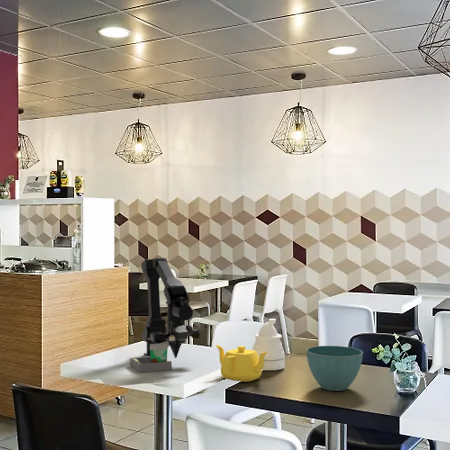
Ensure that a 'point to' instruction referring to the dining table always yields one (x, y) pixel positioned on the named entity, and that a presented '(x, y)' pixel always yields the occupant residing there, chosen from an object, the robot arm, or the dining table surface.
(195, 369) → the dining table surface
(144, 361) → the pocket bay
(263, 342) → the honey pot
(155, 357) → the food container
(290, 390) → the dining table surface
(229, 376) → the teapot
